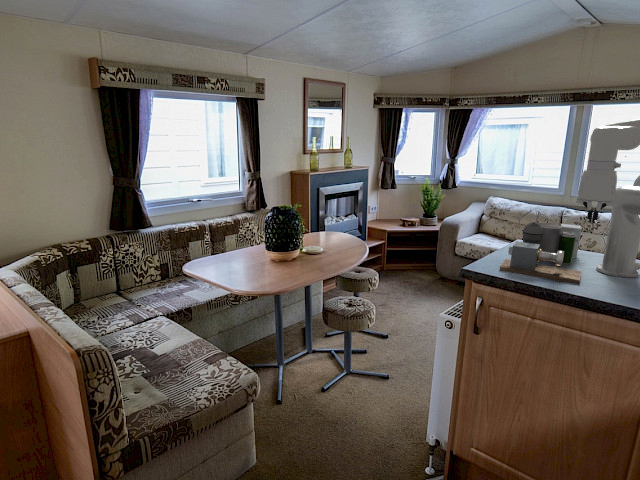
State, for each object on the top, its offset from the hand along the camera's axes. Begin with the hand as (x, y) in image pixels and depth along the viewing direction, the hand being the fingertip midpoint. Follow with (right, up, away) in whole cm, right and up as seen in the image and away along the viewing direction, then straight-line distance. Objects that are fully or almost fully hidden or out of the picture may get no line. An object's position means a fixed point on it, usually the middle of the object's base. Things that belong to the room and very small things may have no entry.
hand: (591, 221), depth 138 cm
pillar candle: (0, -14, +30) cm, 33 cm away
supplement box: (+12, -13, +35) cm, 39 cm away
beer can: (+5, -15, +24) cm, 29 cm away
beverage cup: (-8, -15, +26) cm, 31 cm away
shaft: (-13, -14, +12) cm, 22 cm away
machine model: (-11, -18, +11) cm, 24 cm away
